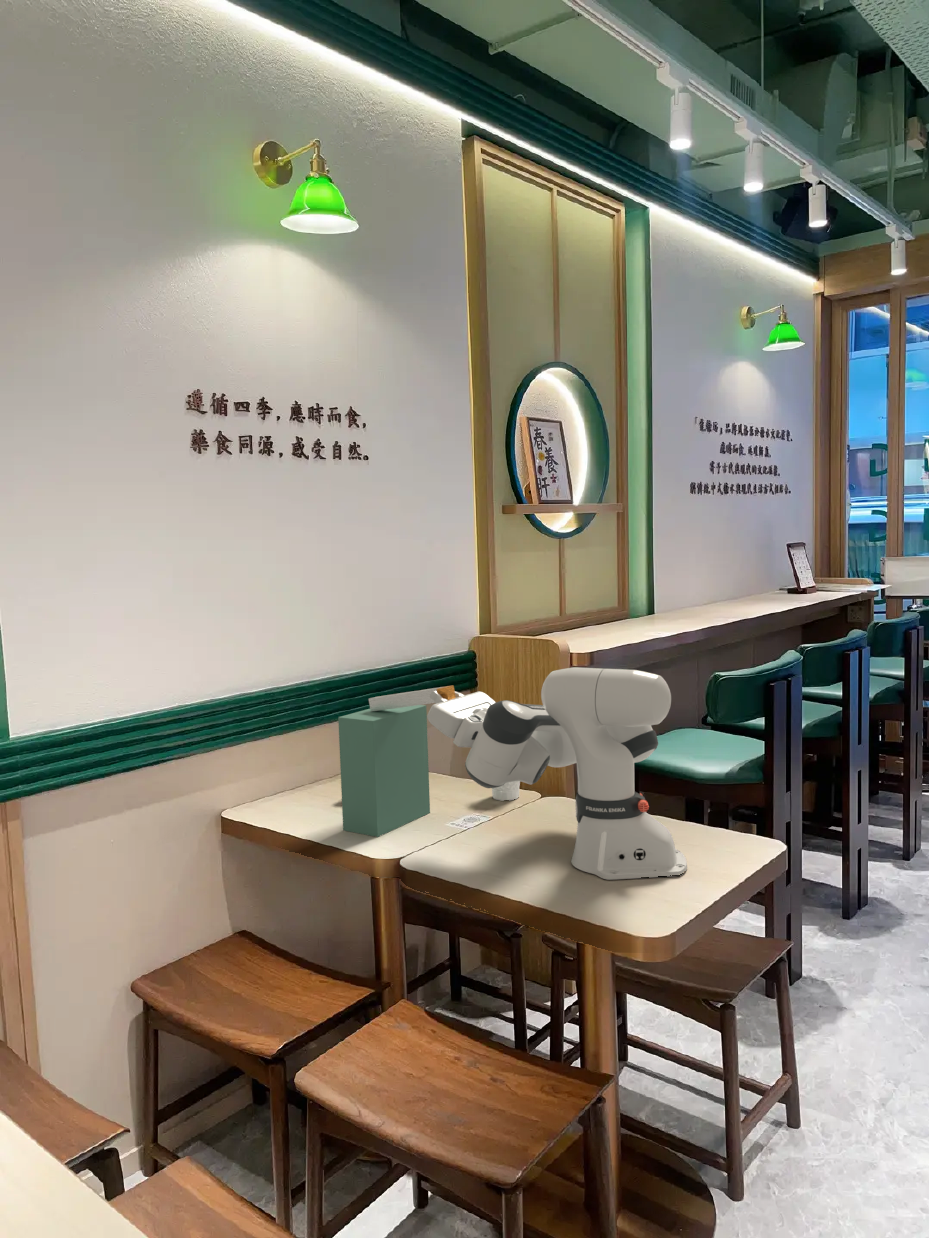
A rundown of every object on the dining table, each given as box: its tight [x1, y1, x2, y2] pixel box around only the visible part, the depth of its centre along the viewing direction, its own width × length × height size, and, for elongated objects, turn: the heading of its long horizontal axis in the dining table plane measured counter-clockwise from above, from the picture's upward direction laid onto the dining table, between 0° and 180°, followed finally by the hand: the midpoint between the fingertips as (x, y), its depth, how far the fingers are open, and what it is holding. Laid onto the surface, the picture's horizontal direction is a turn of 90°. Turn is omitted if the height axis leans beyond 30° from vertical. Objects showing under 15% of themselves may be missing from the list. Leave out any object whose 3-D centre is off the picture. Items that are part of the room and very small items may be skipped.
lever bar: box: [368, 685, 456, 712], centre depth 209 cm, size 22×3×3 cm, turn 57°
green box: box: [337, 704, 431, 838], centre depth 215 cm, size 10×20×26 cm, turn 147°
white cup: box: [491, 781, 521, 802], centre depth 233 cm, size 8×8×10 cm
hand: (438, 691), depth 205 cm, fingers closed on lever bar, 3 cm apart
